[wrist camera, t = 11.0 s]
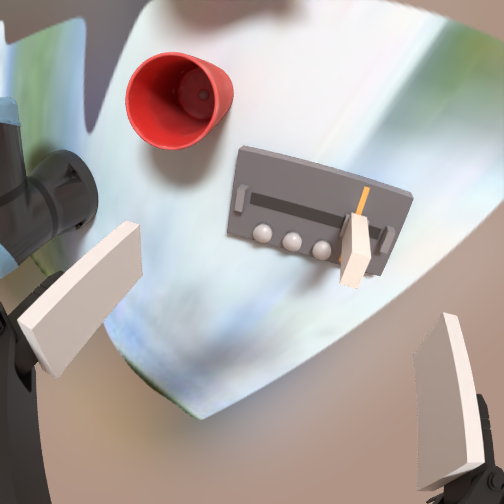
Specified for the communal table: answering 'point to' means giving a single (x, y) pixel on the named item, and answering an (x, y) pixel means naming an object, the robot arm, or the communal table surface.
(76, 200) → the robot arm
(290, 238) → the console
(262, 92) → the communal table surface
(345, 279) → the fader tab
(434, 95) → the communal table surface
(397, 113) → the communal table surface
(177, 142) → the flower pot
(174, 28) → the communal table surface
